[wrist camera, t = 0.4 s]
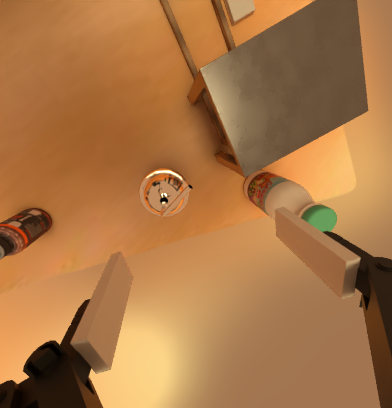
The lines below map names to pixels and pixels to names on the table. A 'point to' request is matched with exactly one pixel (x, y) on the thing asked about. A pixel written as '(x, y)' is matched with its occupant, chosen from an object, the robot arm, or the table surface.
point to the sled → (188, 57)
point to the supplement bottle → (22, 231)
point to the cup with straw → (164, 192)
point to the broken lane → (239, 9)
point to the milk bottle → (287, 199)
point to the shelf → (287, 84)
